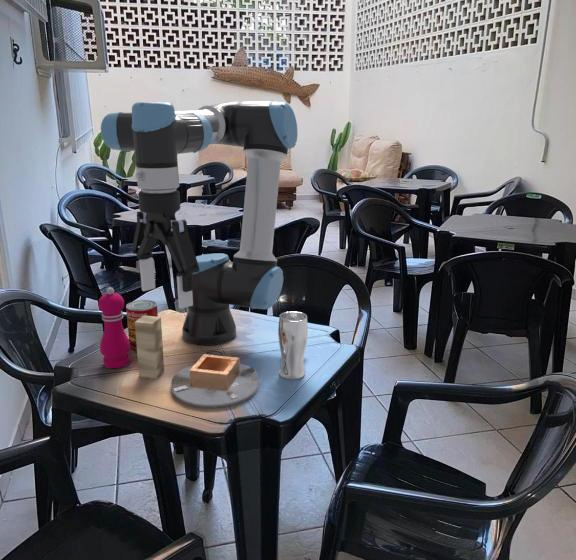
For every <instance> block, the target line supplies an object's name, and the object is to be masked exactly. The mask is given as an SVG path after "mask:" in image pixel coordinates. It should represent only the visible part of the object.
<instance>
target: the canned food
mask: <svg viewBox="0 0 576 560" xmlns="http://www.w3.org/2000/svg"><path fill="white" fill-rule="evenodd" d="M125 305H126V307H125V309H126V319H127V323H126V324H127V332H128V333H127V334H128V339H129V341H130V351H131V352H132V353H133V352H134V353H136V352H137V344H136V331H135V322H136V321H137V320H138V319H140V318H141V317H142V316H155V317H159V316H158V315H159V314H158V303H157V302H156V301H154V300H150V299H139V300H134V301H132V302H129V303H126V304H125Z"/></svg>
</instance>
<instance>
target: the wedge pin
mask: <svg viewBox="0 0 576 560" xmlns="http://www.w3.org/2000/svg"><path fill="white" fill-rule="evenodd" d="M162 328H163V327H162V317H161V316H158V317H155V316H142V317H141V318H140V319H138V320H137V321H136V322H135V331H136V344H137V353H136V357H137V368H138V369H137V370H138V377H139V378H145V379H146V378H147V379H154V380H156V379H158V377H159V376H160V375H162V373H164V371H165V363H164V362H165V361H164V345H163V343H164V342H163V330H162Z"/></svg>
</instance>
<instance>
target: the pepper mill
mask: <svg viewBox="0 0 576 560" xmlns="http://www.w3.org/2000/svg"><path fill="white" fill-rule="evenodd" d="M124 307H125V299H124V297H123V296H122V295H121V294H119V293H115V289H114V288H113V287H111V286H110V287H107V289H106V293H105V294H103V295H101V297H100V298H99V299H98V309H99V310H100V312H102V313H101V320H102V321H103V324H104V325H103V326H104V331H103V334H102V337H101V340H100V344H99V351H100V353H101V355H102V356H104V357H102V362H103V366H104V367H105V368H106V367H108V368H107V369H110V368H117V369H122V368H124V366H125V367H126V365H127V366H128V365H129V364H130V354H129V352H130V351H131V350H130V341H129V336H127V334H126V332H125V330H124V329H125V328H124V327H123V321H122V319H123V318H124V315H123V314H124V312H123V310H124ZM121 367H122V368H121Z"/></svg>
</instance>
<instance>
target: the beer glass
mask: <svg viewBox="0 0 576 560" xmlns="http://www.w3.org/2000/svg"><path fill="white" fill-rule="evenodd" d="M278 318H279V319H278V320H279V321H278V326H277V327H278V333H277V335H278V337H277V339H278V345H279V351H280V356H281V358H280V359H281V364H280V369H279V375H280V377H282V378H283V379H284V380H285V379H286V380H289V381H290V380H292V381H293V380H294V381H295V380H299V379H301V378H303V377H305V375H306V374H305V373H306V371H305V366H304V365H305V364H304V359H305V357H304V356H305V352H306V347H307V343H308V334H309V333H308V331H309V330H308V315H307V314H306V313H304V312H301V311H295V310H294V311H285V312H281V313H280V314H279V316H278Z"/></svg>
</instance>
